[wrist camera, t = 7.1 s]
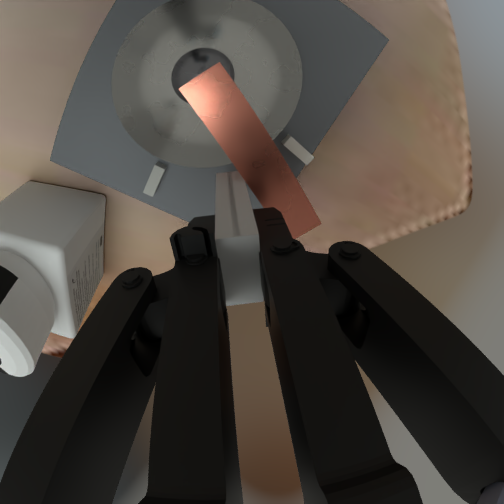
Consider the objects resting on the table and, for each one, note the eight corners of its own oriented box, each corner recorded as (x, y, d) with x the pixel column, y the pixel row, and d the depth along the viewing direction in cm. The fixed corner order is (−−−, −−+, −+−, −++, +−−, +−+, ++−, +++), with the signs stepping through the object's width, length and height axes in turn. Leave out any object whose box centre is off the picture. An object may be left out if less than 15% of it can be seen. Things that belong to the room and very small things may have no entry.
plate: (174, -62, 9) (169, -76, 7) (378, 41, 14) (395, 39, 12) (59, 154, 17) (44, 163, 15) (247, 238, 22) (249, 255, 20)
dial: (94, 70, 13) (52, 71, 9) (234, -24, 10) (238, -59, 6) (222, 233, 20) (221, 279, 16) (350, 158, 17) (387, 185, 13)
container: (34, 256, 21) (-34, 364, 10) (28, 178, 17) (-79, 276, 6) (104, 274, 23) (53, 405, 12) (107, 193, 19) (14, 322, 8)
